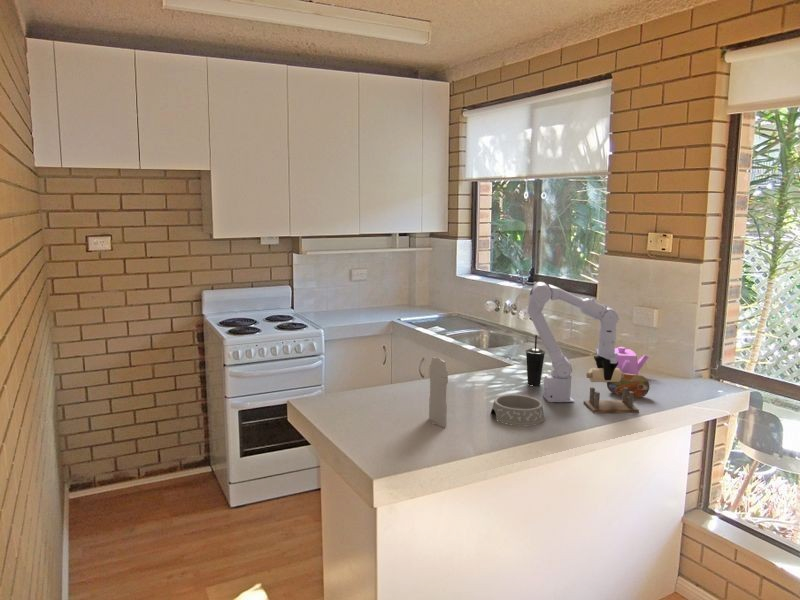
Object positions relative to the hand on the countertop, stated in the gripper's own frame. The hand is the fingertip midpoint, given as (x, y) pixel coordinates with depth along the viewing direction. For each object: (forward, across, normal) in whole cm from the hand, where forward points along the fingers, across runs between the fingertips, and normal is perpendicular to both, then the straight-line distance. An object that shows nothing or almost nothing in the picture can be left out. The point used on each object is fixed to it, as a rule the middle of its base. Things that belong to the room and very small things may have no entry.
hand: (604, 377), depth 224 cm
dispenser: (+9, -19, +63) cm, 67 cm away
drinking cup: (+9, +21, +20) cm, 30 cm away
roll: (+2, 0, 0) cm, 2 cm away
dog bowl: (+9, -14, +35) cm, 39 cm away
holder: (+9, -7, 0) cm, 11 cm away
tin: (+9, +7, -12) cm, 17 cm away
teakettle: (+9, +32, -20) cm, 39 cm away
